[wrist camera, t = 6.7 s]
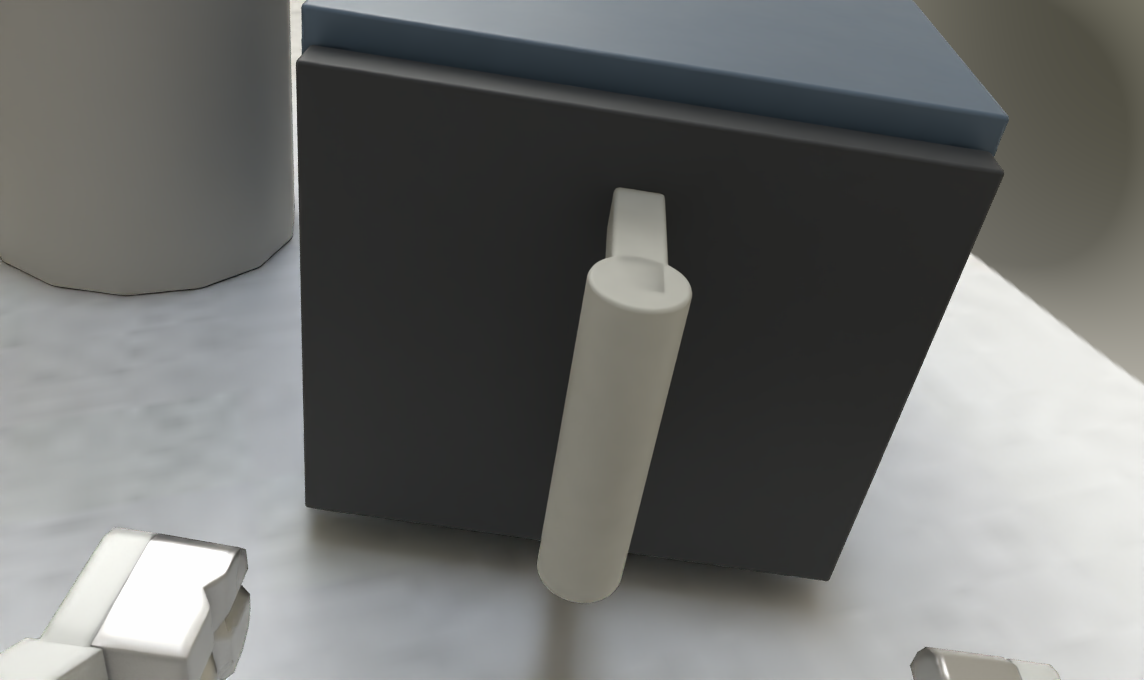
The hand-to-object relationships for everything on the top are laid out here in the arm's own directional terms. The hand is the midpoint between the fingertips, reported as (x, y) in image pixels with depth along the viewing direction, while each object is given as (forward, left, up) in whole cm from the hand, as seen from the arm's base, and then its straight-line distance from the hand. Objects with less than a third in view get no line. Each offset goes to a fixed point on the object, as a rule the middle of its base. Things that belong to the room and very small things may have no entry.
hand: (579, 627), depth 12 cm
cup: (+8, +20, -6) cm, 23 cm away
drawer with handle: (+9, +6, -5) cm, 12 cm away
